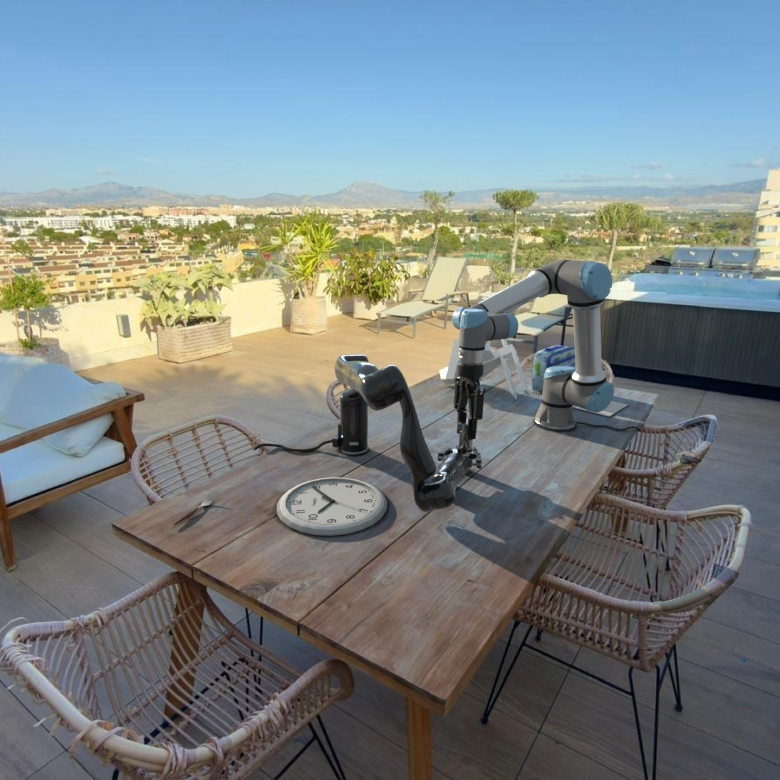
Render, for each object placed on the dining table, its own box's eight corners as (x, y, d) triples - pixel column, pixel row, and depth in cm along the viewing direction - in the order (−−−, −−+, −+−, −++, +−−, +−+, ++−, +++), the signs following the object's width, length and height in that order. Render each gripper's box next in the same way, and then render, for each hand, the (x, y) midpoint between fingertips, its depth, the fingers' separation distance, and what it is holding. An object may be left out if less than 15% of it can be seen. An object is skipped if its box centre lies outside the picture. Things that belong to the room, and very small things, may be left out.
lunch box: (548, 397, 237) (553, 352, 230) (527, 392, 244) (531, 348, 238) (575, 386, 254) (580, 344, 248) (555, 382, 261) (559, 340, 255)
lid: (458, 431, 158) (459, 424, 157) (457, 425, 163) (458, 418, 162) (475, 432, 157) (476, 425, 157) (474, 426, 162) (474, 418, 162)
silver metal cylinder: (470, 474, 162) (473, 427, 157) (457, 473, 163) (460, 426, 158) (470, 468, 166) (473, 422, 161) (457, 467, 166) (460, 421, 162)
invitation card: (608, 416, 214) (573, 407, 224) (608, 416, 214) (573, 408, 224) (628, 404, 229) (594, 396, 238) (628, 405, 229) (594, 397, 238)
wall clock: (392, 527, 129) (268, 531, 127) (391, 533, 130) (269, 537, 127) (383, 473, 158) (282, 475, 155) (383, 478, 158) (282, 480, 156)
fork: (169, 526, 131) (168, 519, 131) (210, 497, 146) (210, 490, 145) (177, 528, 130) (176, 521, 130) (218, 498, 145) (217, 492, 144)
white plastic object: (461, 429, 252) (437, 405, 227) (444, 352, 274) (420, 323, 250) (535, 404, 240) (518, 377, 215) (510, 326, 262) (492, 293, 237)
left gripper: (477, 463, 146) (490, 441, 161) (429, 454, 151) (446, 433, 166) (475, 487, 148) (488, 463, 163) (428, 477, 153) (445, 455, 169)
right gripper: (444, 356, 160) (440, 427, 167) (477, 371, 144) (471, 448, 151) (465, 354, 163) (461, 424, 170) (499, 368, 147) (493, 444, 154)
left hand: (467, 448), depth 165 cm, fingers closed on silver metal cylinder, 4 cm apart
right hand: (466, 435), depth 161 cm, fingers closed on lid, 5 cm apart
